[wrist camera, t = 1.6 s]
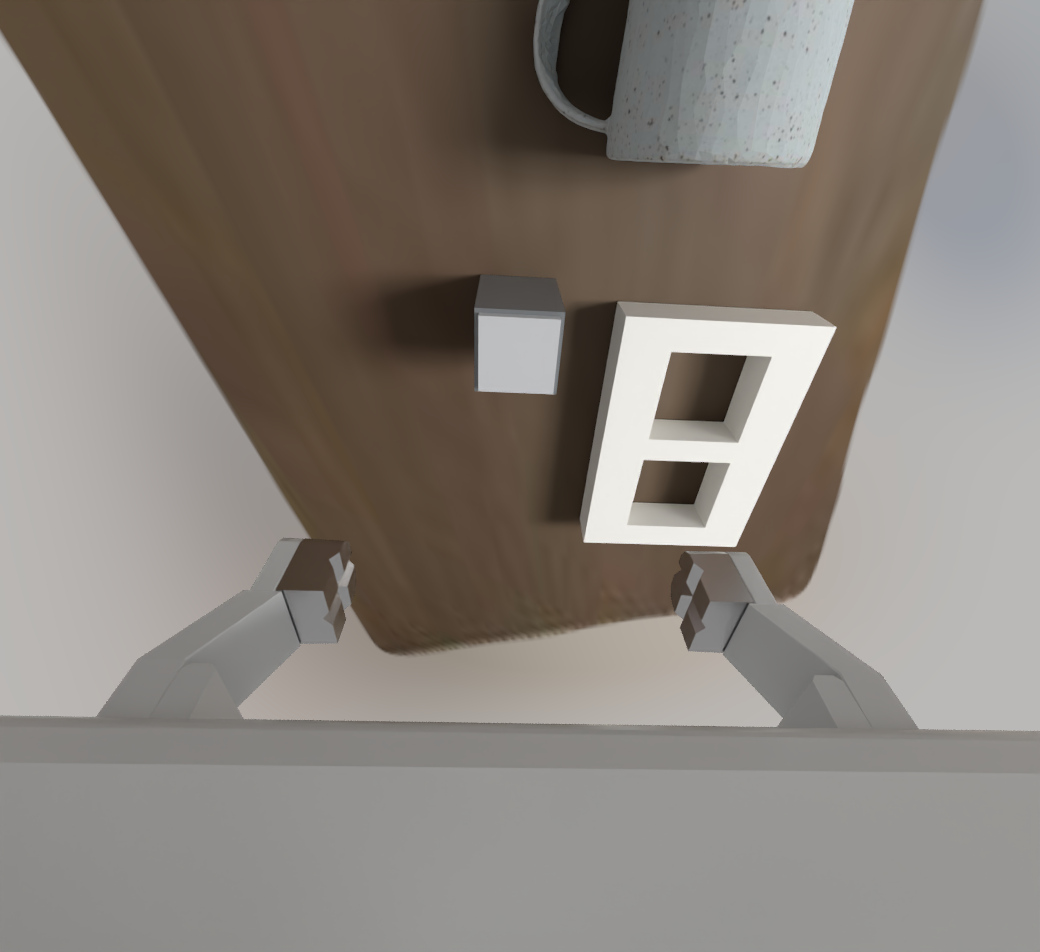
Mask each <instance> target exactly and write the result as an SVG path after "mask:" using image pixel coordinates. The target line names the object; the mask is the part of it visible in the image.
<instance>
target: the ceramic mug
mask: <svg viewBox="0 0 1040 952" xmlns="http://www.w3.org/2000/svg"><path fill="white" fill-rule="evenodd" d="M853 4H854V0H629V7H628V15H627V21H626V27H625V33H624V39H623V45H622V50H621V57H620V63H619V70H618V76H617V81H616V88H615V94H614V99H613V109H612V114H611V116H610V117H609V118H608V119H607V120H605V121H604V120H600V119H597V118H595V117H592V116H590V115H588V114H586V113H583V112H582V111H580V110H579V109H577V108H576V107H574V106H573V105H572V104H571V103H570V102H569V101H568V99H567V98H566V97H565V96H564V94H563V93H562V91H561V89H560V87H559V85H558V76H557V72H556V62H557V54H558V47H559V39H560V30H561V26H562V21H563V16H564V12H565V10H566V9H567V7H568V5H569V0H539V3H538V7H537V13H536V20H535V29H534V39H533V46H534V64H535V70H536V73H537V76H538V79H539V82H540V85H541V87H542V89H543V91H544V93H545V94H546V96H547V97H548V99H549V100H550V101H551V103H552V104H553V105H554V106H555V108H556V109H557V110H558V111H559V112H560V113H561V114H563V115H564V116H565V117H566V118H568V119H569V120H571V121H572V122H574V123H576V124H578V125H579V126H582V127H585V128H588V129H590V130H594V131H598V132H602V133H605V134H606V135H607V138H608V140H607V149H606V154H607V157H608V158H609V159H612V160H620V161H636V162H661V163H685V164H704V165H735V166H736V165H743V166H770V167H781V168H796V167H799V168H801V167H804V166H805V165H806V164H807V162H808V161H809V159H810V157H811V154H812V152H813V149H814V145H815V141H816V138H817V134H818V130H819V126H820V123H821V118H822V114H823V110H824V107H825V104H826V101H827V98H828V94H829V91H830V87H831V83H832V79H833V76H834V72H835V69H836V65H837V61H838V58H839V55H840V51H841V48H842V45H843V41H844V37H845V33H846V29H847V26H848V22H849V18H850V14H851V10H852V7H853Z"/></svg>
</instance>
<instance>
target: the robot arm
mask: <svg viewBox="0 0 1040 952" xmlns="http://www.w3.org/2000/svg"><path fill="white" fill-rule="evenodd" d="M351 553H352V551H351V547H350V543H349V542H347V541H340V540H322V539H294V538H283V539H281V540H280V541H279V542H278V543H277V544H276V546H275V548H274V550H273V551H272V553H271V555H270V557H269V558H268V560H267V562H266V563H265V565H264V567H263V568H262V570H261V572H260V574H259V575H258V577H257V579H256V581H255V582H254V584H253V586H252V587H251V589H250V590H243V591H241V592H240V593H238V594H237V595H235V596H234V597H232V598H231V599H229V600H227V601H226V602H224V603H223V604H221V605H220V606H218V607H217V608H215V609H214V610H212V611H211V612H209V613H208V614H206V615H205V616H203V617H201V618H200V619H198V620H197V621H195V622H194V623H192V624H191V625H189V626H188V627H186V628H185V629H183V630H182V631H180V632H179V633H177V634H176V635H174V636H173V637H171V638H169V639H168V640H166V641H165V642H163V643H162V644H160V645H159V646H157V647H156V648H154V649H153V650H151V651H149V652H148V653H146V654H145V655H143V656H142V657H140V658H139V659H137V661H136V662H135V663H134V665H133V666H132V668H131V669H130V670H129V672H128V673H127V675H126V676H125V677H124V679H123V680H122V681H121V683H120V684H119V686H118V687H117V688H116V690H115V691H114V693H113V694H112V695H111V697H110V698H109V700H108V701H107V702H106V704H105V705H104V707H103V708H102V710H101V711H100V712H99V713H98V715H97V716H96V717H61V716H60V717H59V716H0V952H1040V731H995V730H928V729H927V730H926V729H918V727H917V726H916V724H915V723H914V721H913V720H912V718H911V717H910V715H909V714H908V713H907V711H906V710H905V708H904V707H903V705H902V704H901V702H900V701H899V699H898V698H897V697H896V695H895V694H894V692H893V691H892V689H891V688H890V686H889V685H888V683H887V682H886V680H885V679H884V677H883V676H882V675H881V674H880V673H878V672H877V671H875V670H874V669H873V668H871V667H870V666H868V665H867V664H866V663H864V662H863V661H862V660H860V659H859V658H857V657H856V656H854V655H853V654H852V653H850V652H849V651H848V650H846V649H845V648H843V647H842V646H841V645H839V644H838V643H837V642H835V641H834V640H832V639H831V638H830V637H828V636H826V635H825V634H824V633H823V632H821V631H820V630H818V629H817V628H816V627H814V626H813V625H811V624H810V623H809V622H807V621H806V620H805V619H803V618H802V617H800V616H799V615H798V614H796V613H795V612H793V611H792V610H791V609H789V608H788V607H786V606H785V605H783V604H777V602H776V601H775V599H774V597H773V595H772V594H771V592H770V590H769V588H768V587H767V585H766V583H765V581H764V580H763V578H762V576H761V574H760V573H759V571H758V569H757V568H756V566H755V564H754V562H753V561H752V559H751V557H750V556H749V555H748V554H747V553H746V552H701V551H685V552H684V553H683V554H682V555H681V557H680V560H679V565H680V567H681V570H680V571H679V572H677V573H676V574H675V575H674V577H673V580H672V583H671V600H672V605H673V608H674V611H675V613H676V614H678V615H679V616H680V617H681V618H682V619H683V621H682V624H681V627H680V629H681V631H682V634H683V637H684V640H685V643H686V646H687V649H688V651H697V652H717V653H723V655H724V656H725V657H726V658H727V659H728V660H729V662H730V663H731V664H732V665H733V666H734V667H735V668H736V669H737V670H738V671H739V672H740V673H741V674H742V675H743V676H744V677H745V678H746V679H747V681H748V682H749V683H750V684H751V685H752V686H753V687H754V688H755V689H756V690H757V691H758V692H759V693H760V694H761V695H762V696H763V697H764V698H765V699H766V701H767V702H768V703H769V704H770V705H771V706H772V707H773V708H774V709H775V710H776V711H777V712H778V713H779V714H780V715H781V716H782V717H783V719H782V721H781V722H780V723H779V725H778V726H777V727H727V726H725V727H724V726H660V725H657V726H656V725H655V726H652V725H589V724H588V725H587V724H521V723H520V724H517V723H455V722H451V723H449V722H386V721H381V722H380V721H321V720H319V721H318V720H316V721H315V720H256V719H254V720H253V719H252V720H251V719H243V717H242V715H241V714H240V712H239V710H238V708H237V707H238V706H239V705H240V704H241V703H242V702H243V701H244V700H245V699H246V698H247V697H248V696H249V695H250V694H251V693H252V692H253V691H254V690H255V689H256V688H258V687H259V686H260V685H261V684H262V683H263V682H264V681H265V680H266V679H267V678H268V677H269V676H270V675H271V674H272V673H273V672H274V671H275V670H276V669H277V668H278V667H279V666H280V665H281V664H282V663H283V662H284V661H285V660H286V659H287V658H288V657H289V656H290V655H291V654H292V653H293V652H294V651H295V650H296V649H298V647H300V644H303V643H304V644H308V643H309V644H314V643H338V641H339V638H340V635H341V632H342V629H343V626H344V624H345V621H346V617H345V613H344V609H346V608H347V607H348V606H349V605H351V603H352V600H353V597H354V594H355V587H356V570H355V566H354V565H353V564H352V563H351V562H350V561H349V559H350V556H351Z"/></svg>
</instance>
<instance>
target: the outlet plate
mask: <svg viewBox="0 0 1040 952" xmlns="http://www.w3.org/2000/svg"><path fill="white" fill-rule="evenodd" d="M835 329H836V326H834V325H833V324H831V323H829V322H828V321H826V320H825V319H823V318H822V317H820V316H818V315H817V314H815V313H814V312H812V311H793V310H774V309H755V308H736V307H717V306H698V305H679V304H659V303H640V302H621V301H617V307H616V313H615V318H614V324H613V330H612V336H611V341H610V347H609V353H608V359H607V364H606V370H605V376H604V382H603V387H602V393H601V399H600V405H599V410H598V416H597V422H596V427H595V433H594V439H593V445H592V450H591V456H590V462H589V468H588V473H587V479H586V485H585V491H584V496H583V502H582V508H581V514H580V524H581V530H582V535H583V541H584V542H591V543H625V544H659V545H692V546H726V547H736V545H737V543H738V540H739V538H740V536H741V534H742V532H743V530H744V527H745V525H746V523H747V521H748V519H749V516H750V514H751V512H752V510H753V508H754V506H755V503H756V501H757V499H758V497H759V495H760V493H761V490H762V488H763V486H764V484H765V482H766V480H767V477H768V475H769V473H770V471H771V469H772V466H773V464H774V462H775V460H776V458H777V456H778V453H779V451H780V449H781V447H782V445H783V443H784V440H785V438H786V436H787V434H788V432H789V430H790V427H791V425H792V423H793V421H794V419H795V416H796V414H797V412H798V410H799V408H800V406H801V403H802V401H803V399H804V397H805V395H806V393H807V390H808V388H809V386H810V384H811V382H812V379H813V377H814V375H815V373H816V371H817V369H818V366H819V364H820V362H821V360H822V358H823V356H824V353H825V351H826V349H827V347H828V345H829V343H830V340H831V338H832V336H833V334H834V332H835ZM671 352H683V353H704V354H725V355H746V356H747V358H746V361H745V364H744V366H743V369H742V372H741V375H740V378H739V380H738V383H737V386H736V389H735V392H734V394H733V397H732V400H731V403H730V405H729V408H728V411H727V414H726V417H725V419H724V422H713V421H689V420H664V419H654V417H655V413H656V409H657V405H658V401H659V397H660V394H661V390H662V386H663V382H664V378H665V374H666V370H667V366H668V362H669V359H670V355H671ZM643 460H660V461H687V462H709V464H708V467H707V470H706V472H705V475H704V478H703V481H702V483H701V486H700V489H699V492H698V495H697V497H696V500H695V503H694V504H667V503H637V502H633V499H634V495H635V491H636V487H637V483H638V479H639V475H640V471H641V468H642V464H643Z"/></svg>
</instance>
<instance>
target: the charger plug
mask: <svg viewBox="0 0 1040 952" xmlns="http://www.w3.org/2000/svg"><path fill="white" fill-rule="evenodd" d="M564 321H565V309H564V306H563V302H562V299H561V295H560V292H559V288H558V285H557V281H556V279H555V278H536V277H518V276H500V275H481V276H480V281H479V286H478V291H477V296H476V302H475V307H474V380H475V391H487V392H511V393H534V394H556V393H557V384H558V375H559V366H560V357H561V348H562V339H563V330H564Z"/></svg>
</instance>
